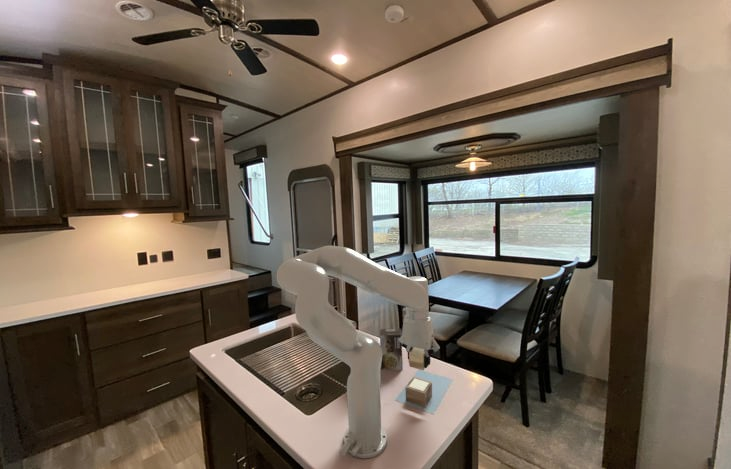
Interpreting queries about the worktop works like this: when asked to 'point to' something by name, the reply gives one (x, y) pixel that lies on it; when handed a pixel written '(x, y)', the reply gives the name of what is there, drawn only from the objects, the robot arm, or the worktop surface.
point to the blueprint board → (436, 390)
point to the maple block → (417, 358)
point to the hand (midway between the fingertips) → (419, 363)
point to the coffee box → (391, 349)
